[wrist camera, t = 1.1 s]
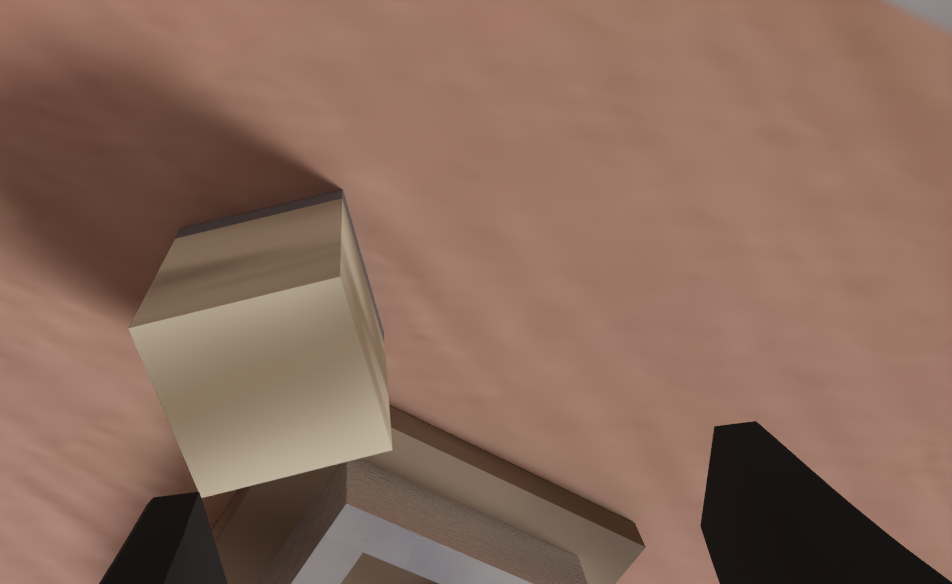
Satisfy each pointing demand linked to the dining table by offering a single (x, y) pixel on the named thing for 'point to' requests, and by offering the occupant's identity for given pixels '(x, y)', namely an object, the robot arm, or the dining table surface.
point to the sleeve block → (267, 345)
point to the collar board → (421, 522)
